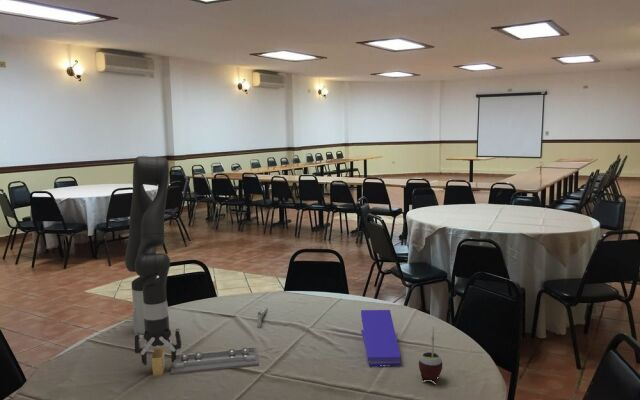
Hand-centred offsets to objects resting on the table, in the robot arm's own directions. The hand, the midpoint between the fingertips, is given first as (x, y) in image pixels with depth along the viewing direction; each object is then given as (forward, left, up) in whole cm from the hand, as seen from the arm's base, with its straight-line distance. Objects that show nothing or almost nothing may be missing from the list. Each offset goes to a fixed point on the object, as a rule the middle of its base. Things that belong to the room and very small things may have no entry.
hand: (159, 362), depth 167 cm
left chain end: (+11, +2, -2) cm, 12 cm away
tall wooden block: (0, 0, -3) cm, 3 cm away
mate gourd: (+83, -25, -3) cm, 86 cm away
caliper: (+37, +37, -3) cm, 52 cm away
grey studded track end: (+24, +2, -2) cm, 24 cm away
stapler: (+74, 0, -3) cm, 74 cm away
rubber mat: (+18, +2, -3) cm, 18 cm away
